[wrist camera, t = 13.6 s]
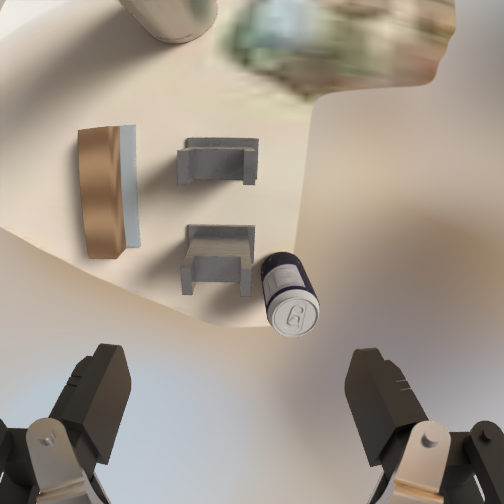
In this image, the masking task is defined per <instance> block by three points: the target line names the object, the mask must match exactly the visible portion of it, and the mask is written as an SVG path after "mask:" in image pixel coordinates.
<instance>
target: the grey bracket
mask: <svg viewBox="0 0 504 504" xmlns="http://www.w3.org/2000/svg"><path fill="white" fill-rule="evenodd" d="M188 233H189V248H188V251H187V253H186V256H185V258H184V260H183V263H182V265H181V281H182V295H192V294H193V291H194V287H195V283H196V282H240V296H250V295H251V270H252V269H251V264H253V262H254V238H255V226H250V225H192V224H189V225H188Z"/></svg>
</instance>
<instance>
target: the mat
mask: <svg viewBox="0 0 504 504" xmlns="http://www.w3.org/2000/svg"><path fill="white" fill-rule="evenodd" d="M117 127H120V160H121V186H122V203H123V216H124V228H125V238H126V247H140V246H141V243H140V232H139V218H138V203H137V182H136V125H124V126H117Z"/></svg>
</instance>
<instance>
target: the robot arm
mask: <svg viewBox="0 0 504 504" xmlns="http://www.w3.org/2000/svg"><path fill="white" fill-rule="evenodd" d="M118 1H119V2H120V3H121V4H122V5H123V6H124V7H125V8H126V9H127V10H128V11H129V12H130V13H131V14H132V15H133V16H134V17H135V18H136V19H137V20H138V21H139V22H140V23H141V24H142V26H143V27H144V28H145V29H146V30H147V31H148V32H149V33H150V34H151V35H152V36H153V37H155V38H156V39H158V40H160V41H162V42H166V43H176V44H178V43H184V42H188V41H191V40H194V39H196V38H198V37H200V36H201V35H202V34H204V33H205V32H206V31H207V30H208V29H209V28H210V27H211V26H212V24H213V23H214V21H215V19H216V16H217V2H216V0H118ZM130 392H131V377H130V373H129V369H128V366H127V362H126V358H125V355H124V351H123V348H122V346H119V345H110V344H100V345H99V346H98V348H97V349H96V351H95V353H94V355H93V357H92V356H86V357H85V358H84V359H83V360H81V361H80V362H79V363H78V364H77V365H76V367H75V369H74V370H73V372H72V374H71V377H70V378H69V380H68V381H67V385H66V386H65V387H64V389H63V390H62V392H61V394H60V396H59V398H58V400H57V402H56V404H55V406H54V408H53V409H52V411H51V413H50V415H49V417H48V418H42V419H39V420H37V421H35V422H34V423H32V424H31V426H30V427H29V428H28V429H21V428H7V427H6V425H5V424H4V423H3V421H2V420H1V419H0V477H1V474H2V472H4V474H3V477H2V480H1V483H0V504H36V503H37V504H111V502H110V501H109V499H108V497H107V495H106V493H105V491H104V489H103V487H102V485H101V483H100V481H99V479H98V478H97V475H96V473H95V471H94V469H95V466H96V463H101V464H105V465H108V462H109V458H110V455H111V451H112V448H113V445H114V442H115V438H116V435H117V432H118V429H119V425H120V422H121V419H122V416H123V413H124V410H125V407H126V404H127V401H128V398H129V395H130ZM345 395H346V398H347V401H348V404H349V407H350V409H351V412H352V415H353V418H354V421H355V424H356V426H357V429H358V432H359V435H360V438H361V441H362V443H363V447H364V450H365V453H366V455H367V459H368V462H369V465H370V467H373V466H377V465H382V467H383V470H384V471H383V472H382V473H381V476H380V478H379V480H378V482H377V484H376V486H375V488H374V490H373V492H372V495H371V496H370V498H369V500H368V502H367V504H504V434H503V432H502V430H501V429H500V428H499V427H498V426H497V425H496V424H495V423H493V422H490V421H480V422H478V423H477V424H475V425H474V426H473V428H472V429H471V430H470V432H448V430H447V429H446V428H445V427H444V426H443V425H441V424H440V423H438V422H434V421H429V419H428V418H427V416H426V414H425V412H424V411H423V409H422V407H421V405H420V403H419V401H418V400H417V398H416V396H415V394H414V392H413V391H412V390H411V389H410V385H409V384H408V382H407V381H406V379H405V377H404V375H403V374H402V372H401V370H400V368H398V367H397V366H396V365H395V364H394V363H392V362H391V361H390V360H386V361H384V359H383V357H382V356H381V354H380V352H379V350H378V349H377V348H365V349H356V350H355V351H354V353H353V356H352V359H351V363H350V366H349V369H348V373H347V376H346V379H345ZM475 474H476V476H477V478H478V481H479V483H480V486H481V488H482V490H483V493H484V496H485V502H484V501H483V498H482V496H481V493H480V491H479V488H478V486H477V484H476V481H475V479H474V477H473V476H474V475H475ZM39 492H40V494H39Z"/></svg>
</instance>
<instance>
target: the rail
mask: <svg viewBox="0 0 504 504" xmlns="http://www.w3.org/2000/svg"><path fill="white" fill-rule="evenodd" d="M78 154H79V175H80V190H81V201H82V211H83V220H84V229H85V236H86V243H87V250H88V256H89V258H91V259H117V258H118V257H119V256H120V254H121V253H122V252H123V251H124V250H125V249H126V238H125V228H124V216H123V203H122V186H121V160H120V127H117V126H107V127H98V128H90V129H83V130H78Z"/></svg>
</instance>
